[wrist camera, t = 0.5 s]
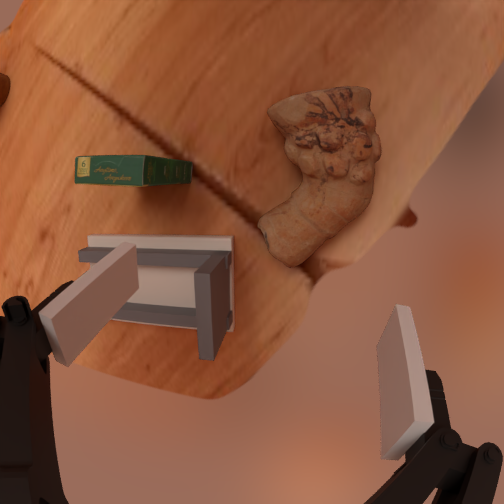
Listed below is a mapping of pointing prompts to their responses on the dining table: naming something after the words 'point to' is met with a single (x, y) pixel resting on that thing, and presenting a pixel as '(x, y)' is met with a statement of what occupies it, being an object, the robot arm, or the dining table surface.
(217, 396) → the dining table surface
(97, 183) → the coffee box
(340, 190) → the clay pipe
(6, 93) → the disposable coffee cup
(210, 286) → the rack
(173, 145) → the dining table surface
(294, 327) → the dining table surface
